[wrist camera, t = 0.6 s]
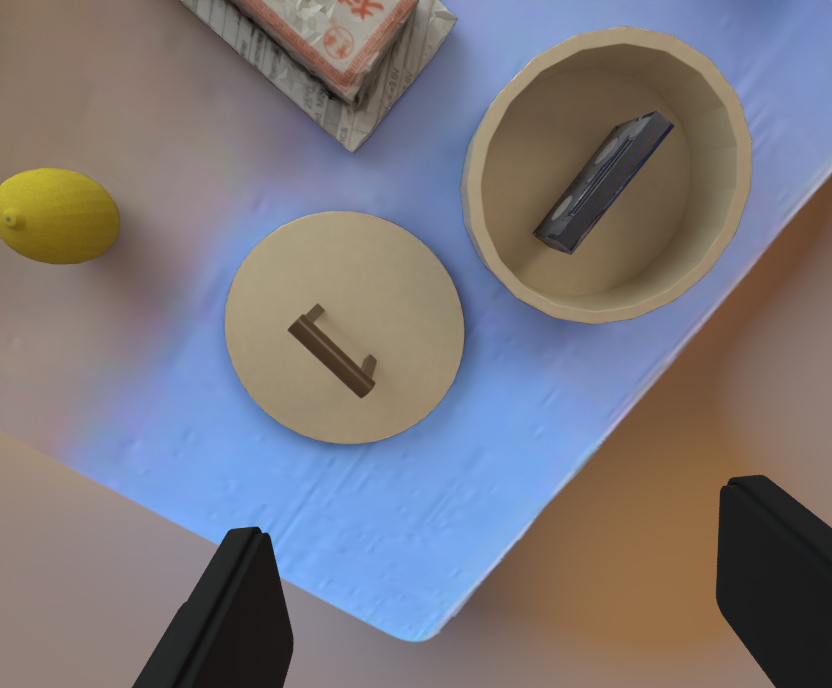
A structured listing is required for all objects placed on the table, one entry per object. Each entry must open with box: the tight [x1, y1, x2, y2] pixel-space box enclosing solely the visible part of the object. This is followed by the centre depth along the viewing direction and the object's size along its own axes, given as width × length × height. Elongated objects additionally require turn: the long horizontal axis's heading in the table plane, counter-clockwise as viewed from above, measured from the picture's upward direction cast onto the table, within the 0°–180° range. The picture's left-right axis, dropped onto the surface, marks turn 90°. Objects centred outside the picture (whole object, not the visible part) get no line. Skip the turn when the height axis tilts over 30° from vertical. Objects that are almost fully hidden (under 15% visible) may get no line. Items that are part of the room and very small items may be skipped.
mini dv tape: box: [533, 110, 675, 255], centre depth 30 cm, size 8×2×6 cm, turn 144°
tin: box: [460, 26, 752, 324], centre depth 31 cm, size 16×16×5 cm
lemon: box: [0, 168, 120, 264], centre depth 30 cm, size 6×6×8 cm
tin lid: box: [225, 211, 465, 444], centre depth 33 cm, size 17×17×7 cm
